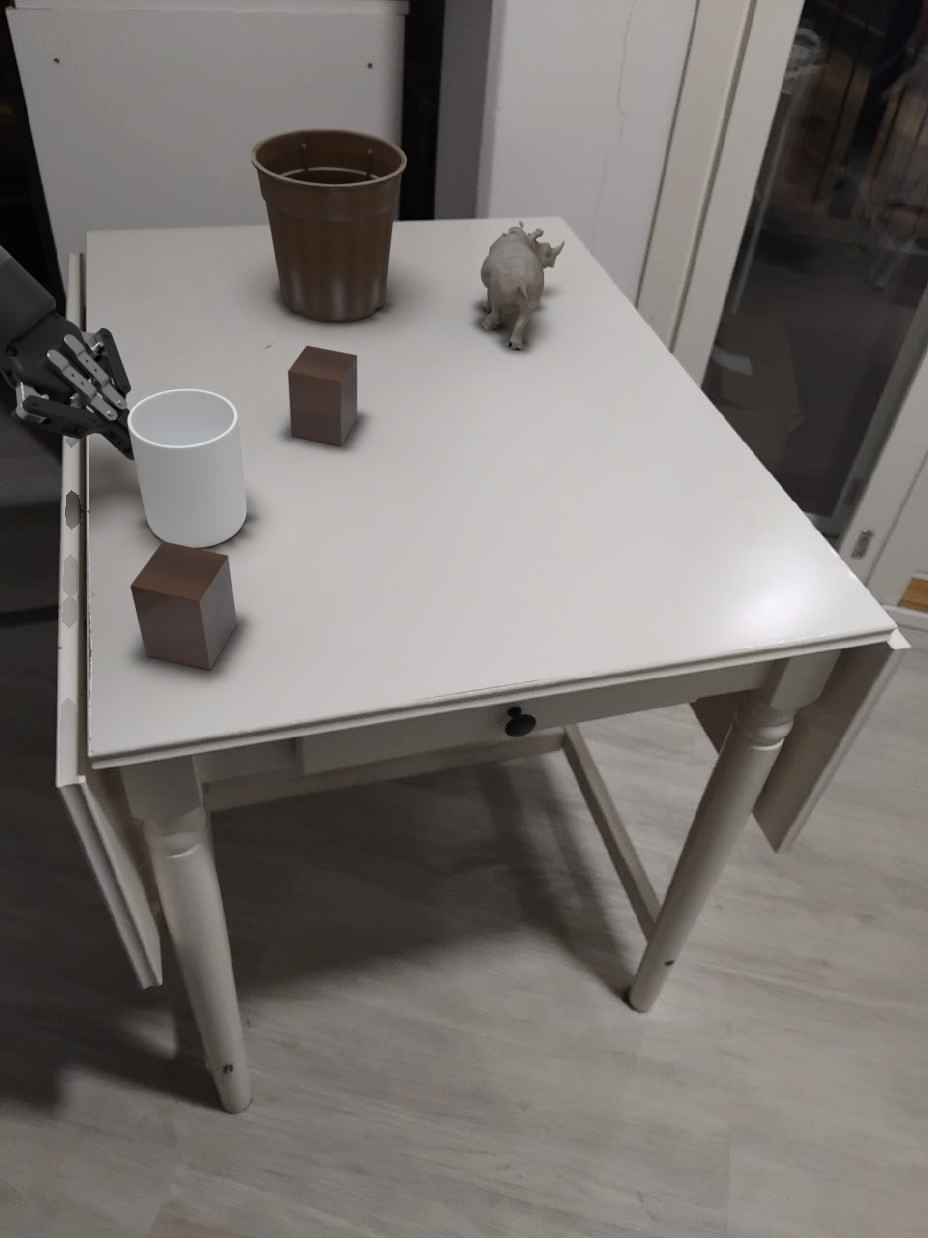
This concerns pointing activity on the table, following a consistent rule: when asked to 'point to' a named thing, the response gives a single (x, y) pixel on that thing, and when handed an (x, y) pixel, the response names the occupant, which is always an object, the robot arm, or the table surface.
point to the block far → (323, 395)
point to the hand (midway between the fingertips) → (148, 453)
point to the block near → (185, 605)
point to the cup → (189, 466)
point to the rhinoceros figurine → (516, 278)
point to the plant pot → (330, 217)
